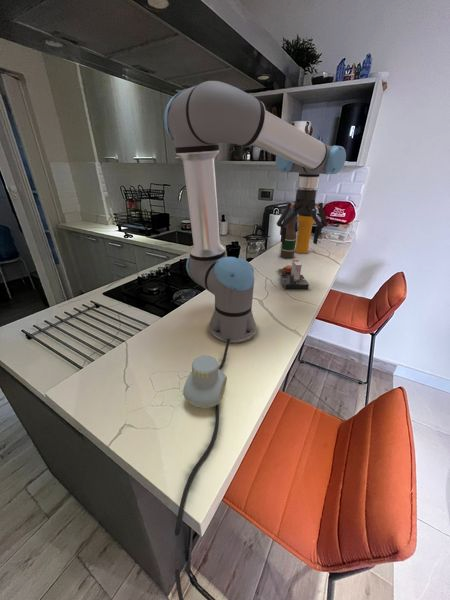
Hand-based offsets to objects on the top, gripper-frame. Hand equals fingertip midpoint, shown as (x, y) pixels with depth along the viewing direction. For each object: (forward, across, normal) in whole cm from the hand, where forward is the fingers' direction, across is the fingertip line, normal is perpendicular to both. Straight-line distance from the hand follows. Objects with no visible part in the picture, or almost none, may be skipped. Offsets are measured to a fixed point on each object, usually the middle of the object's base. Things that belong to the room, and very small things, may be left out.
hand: (298, 243), depth 109 cm
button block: (+19, 0, -11) cm, 22 cm away
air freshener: (+19, +36, +64) cm, 76 cm away
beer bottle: (+19, -6, -38) cm, 43 cm away
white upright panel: (+16, 0, 0) cm, 16 cm away
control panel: (+19, 0, 0) cm, 19 cm away
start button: (+17, 0, -11) cm, 20 cm away
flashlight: (+20, -17, -48) cm, 54 cm away
